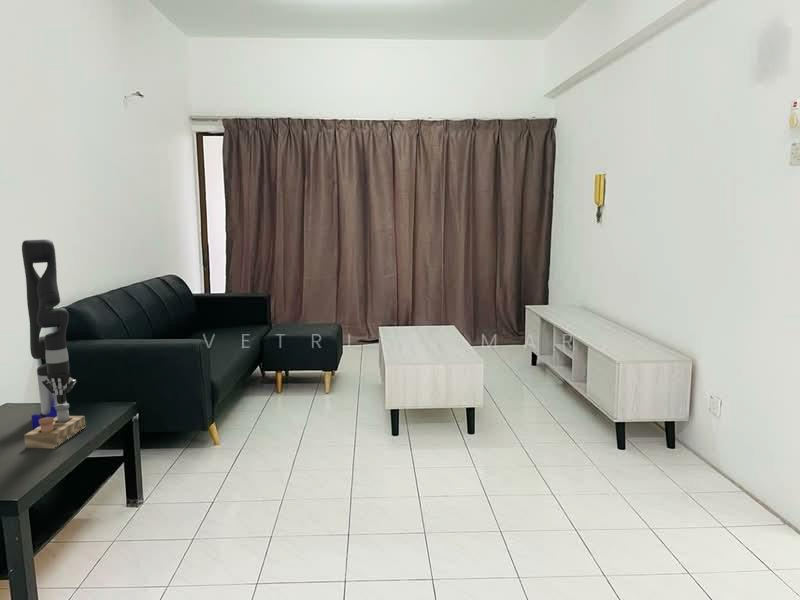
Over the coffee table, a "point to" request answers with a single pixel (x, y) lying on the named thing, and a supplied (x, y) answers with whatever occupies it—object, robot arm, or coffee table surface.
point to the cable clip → (36, 417)
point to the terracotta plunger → (46, 424)
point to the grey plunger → (62, 412)
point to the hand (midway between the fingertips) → (61, 403)
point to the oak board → (54, 433)
